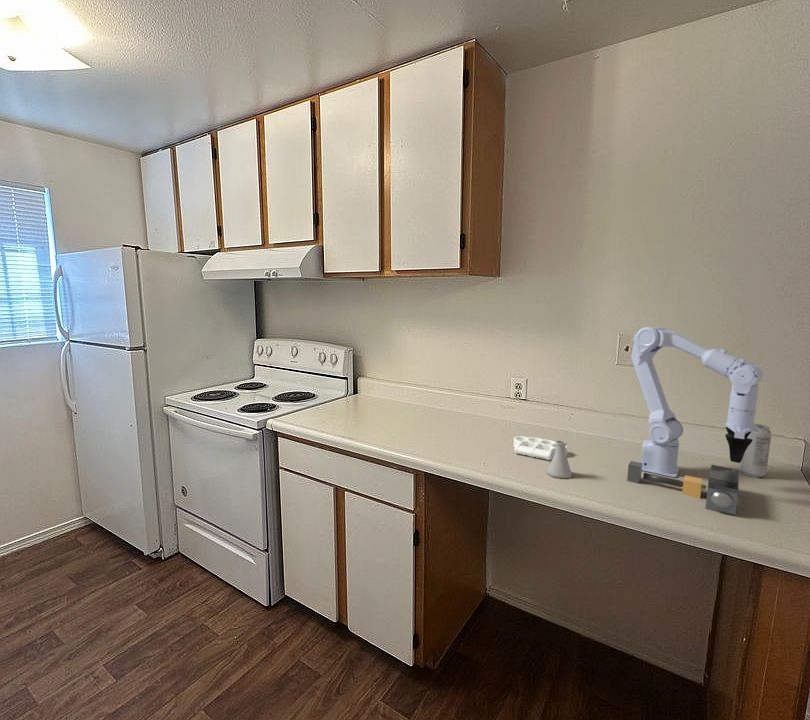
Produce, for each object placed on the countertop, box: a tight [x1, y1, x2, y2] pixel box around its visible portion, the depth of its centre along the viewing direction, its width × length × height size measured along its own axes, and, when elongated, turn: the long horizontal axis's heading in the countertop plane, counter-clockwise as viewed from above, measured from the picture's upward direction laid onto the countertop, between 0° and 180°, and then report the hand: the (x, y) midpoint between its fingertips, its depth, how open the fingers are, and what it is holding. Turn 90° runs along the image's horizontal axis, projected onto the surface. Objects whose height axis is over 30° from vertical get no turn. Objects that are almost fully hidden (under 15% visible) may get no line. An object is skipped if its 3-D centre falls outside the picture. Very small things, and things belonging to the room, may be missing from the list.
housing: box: [705, 464, 740, 516], centre depth 114 cm, size 6×17×6 cm, turn 143°
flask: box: [546, 439, 573, 479], centre depth 130 cm, size 7×7×10 cm
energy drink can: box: [740, 423, 772, 478], centre depth 131 cm, size 6×6×15 cm
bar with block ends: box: [626, 460, 707, 499], centre depth 122 cm, size 18×4×5 cm, turn 53°
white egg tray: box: [513, 435, 568, 461], centre depth 150 cm, size 3×18×15 cm
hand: (735, 457), depth 119 cm, fingers open, 7 cm apart
